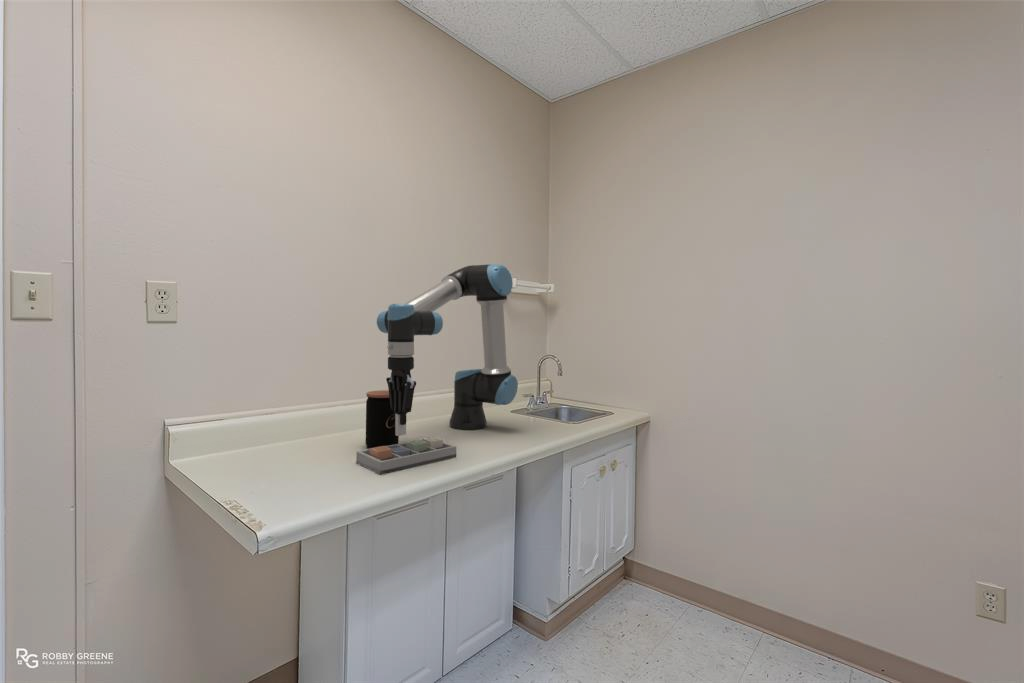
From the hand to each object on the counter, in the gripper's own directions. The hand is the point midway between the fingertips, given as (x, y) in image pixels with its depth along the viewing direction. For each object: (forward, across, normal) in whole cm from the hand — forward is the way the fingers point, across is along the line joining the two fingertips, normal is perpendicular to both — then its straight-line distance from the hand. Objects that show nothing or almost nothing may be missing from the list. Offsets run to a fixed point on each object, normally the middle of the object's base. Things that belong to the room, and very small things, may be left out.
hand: (400, 434), depth 137 cm
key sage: (+6, 0, +5) cm, 8 cm away
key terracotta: (+5, 0, -7) cm, 8 cm away
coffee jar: (+9, -19, +4) cm, 21 cm away
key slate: (+7, 0, -1) cm, 7 cm away
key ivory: (+6, 0, +11) cm, 13 cm away
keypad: (+8, 0, +2) cm, 8 cm away
